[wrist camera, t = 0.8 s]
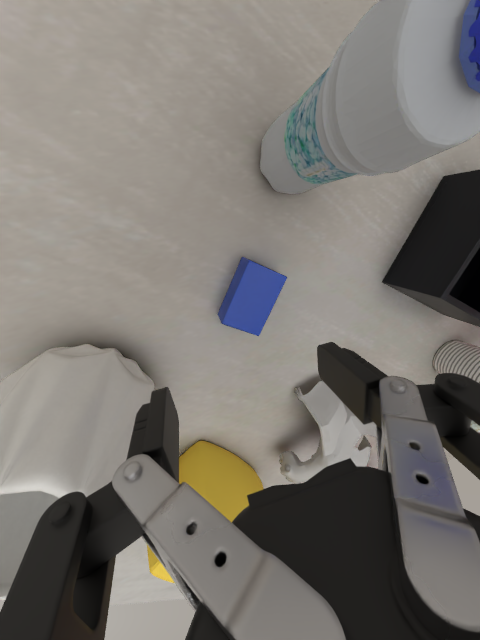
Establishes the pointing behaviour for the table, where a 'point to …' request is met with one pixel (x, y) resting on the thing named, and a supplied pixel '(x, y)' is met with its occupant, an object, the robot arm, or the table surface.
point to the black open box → (444, 251)
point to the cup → (458, 359)
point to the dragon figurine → (329, 436)
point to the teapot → (213, 485)
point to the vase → (61, 436)
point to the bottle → (383, 97)
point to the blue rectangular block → (250, 297)
